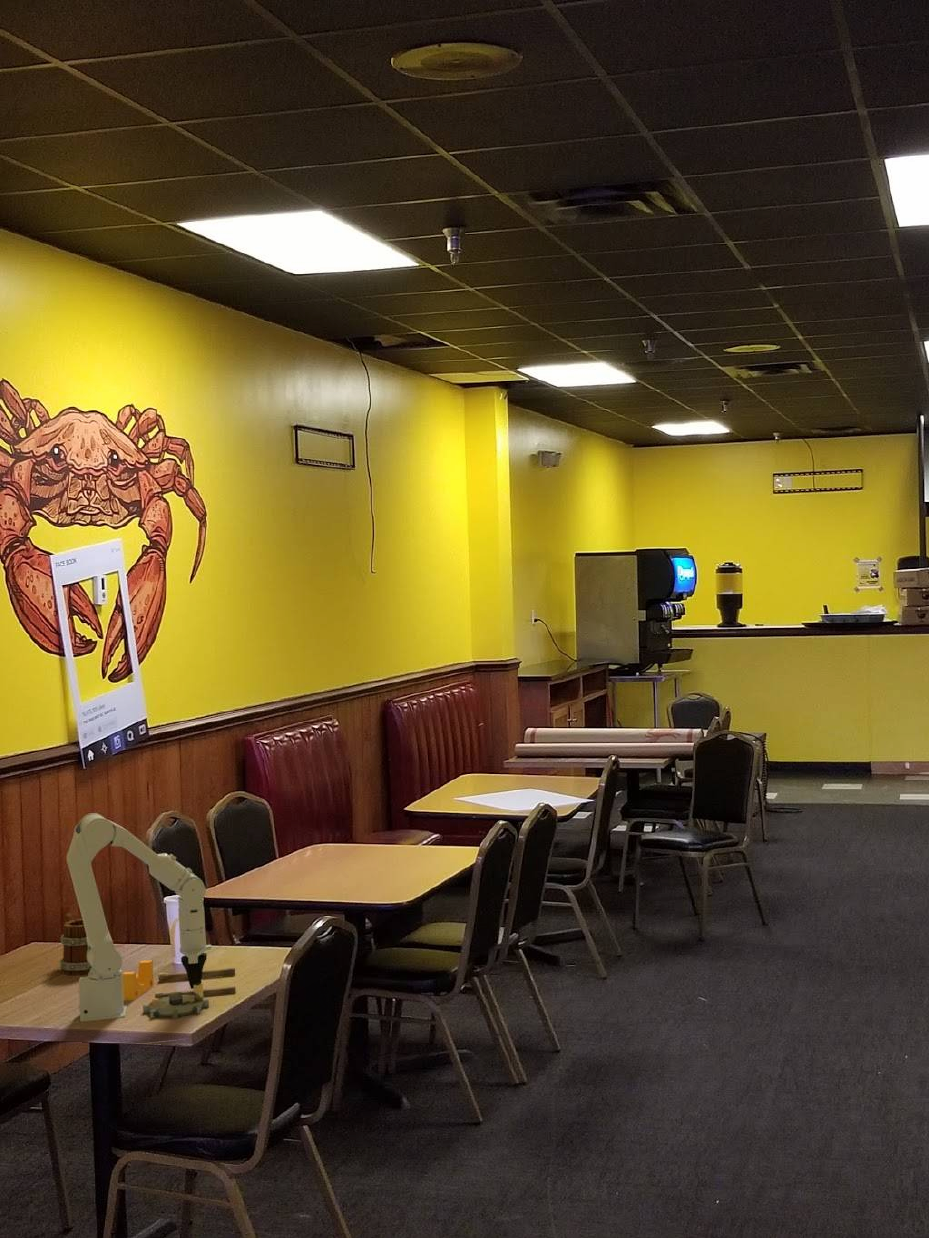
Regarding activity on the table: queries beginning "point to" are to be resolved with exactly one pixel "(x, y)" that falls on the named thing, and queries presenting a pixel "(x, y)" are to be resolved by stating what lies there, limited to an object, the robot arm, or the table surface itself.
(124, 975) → the pipe clamp
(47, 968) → the table surface
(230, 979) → the table surface
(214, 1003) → the table surface
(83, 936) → the mug
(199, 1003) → the sprocket
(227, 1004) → the table surface
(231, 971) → the guide rails
